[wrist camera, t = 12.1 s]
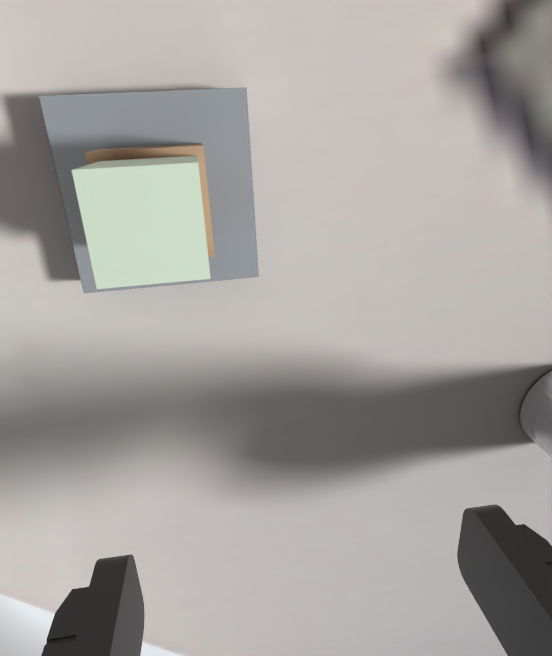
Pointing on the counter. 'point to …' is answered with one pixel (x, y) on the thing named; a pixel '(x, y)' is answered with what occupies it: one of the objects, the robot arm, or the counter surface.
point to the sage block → (143, 220)
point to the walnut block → (160, 153)
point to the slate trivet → (157, 130)
